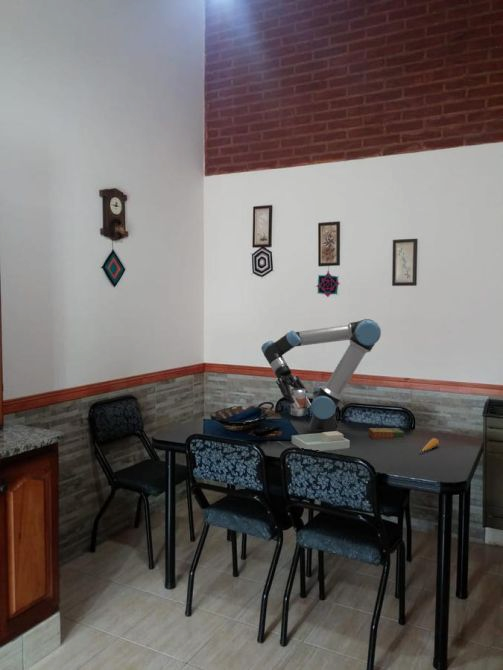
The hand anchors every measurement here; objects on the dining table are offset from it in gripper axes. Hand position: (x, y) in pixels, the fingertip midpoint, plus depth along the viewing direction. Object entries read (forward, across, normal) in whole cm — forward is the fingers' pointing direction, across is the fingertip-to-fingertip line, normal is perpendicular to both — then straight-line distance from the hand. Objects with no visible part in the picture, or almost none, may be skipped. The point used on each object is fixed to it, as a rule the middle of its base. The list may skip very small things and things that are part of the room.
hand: (303, 407), depth 261 cm
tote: (+19, -3, -7) cm, 20 cm away
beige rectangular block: (+21, -7, -3) cm, 22 cm away
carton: (+25, -44, -2) cm, 50 cm away
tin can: (0, 0, -5) cm, 5 cm away
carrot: (+42, -40, +16) cm, 61 cm away
